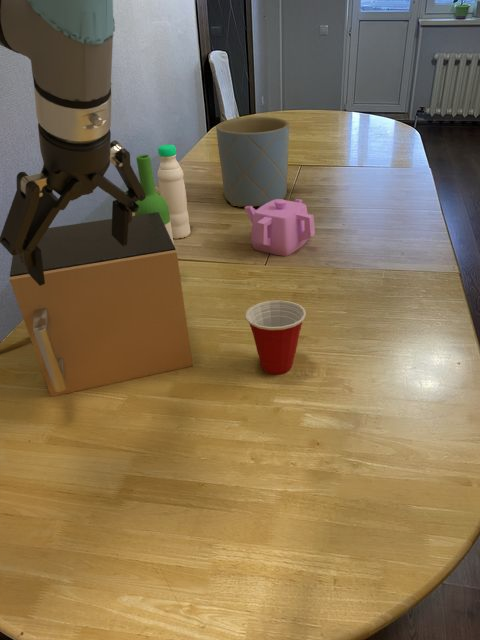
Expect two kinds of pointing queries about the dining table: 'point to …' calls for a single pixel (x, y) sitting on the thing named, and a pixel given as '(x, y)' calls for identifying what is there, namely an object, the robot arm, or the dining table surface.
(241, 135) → the planter
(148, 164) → the wine bottle
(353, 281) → the dining table surface
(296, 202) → the teakettle
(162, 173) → the water bottle
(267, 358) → the plastic cup
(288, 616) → the dining table surface
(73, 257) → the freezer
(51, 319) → the freezer door
